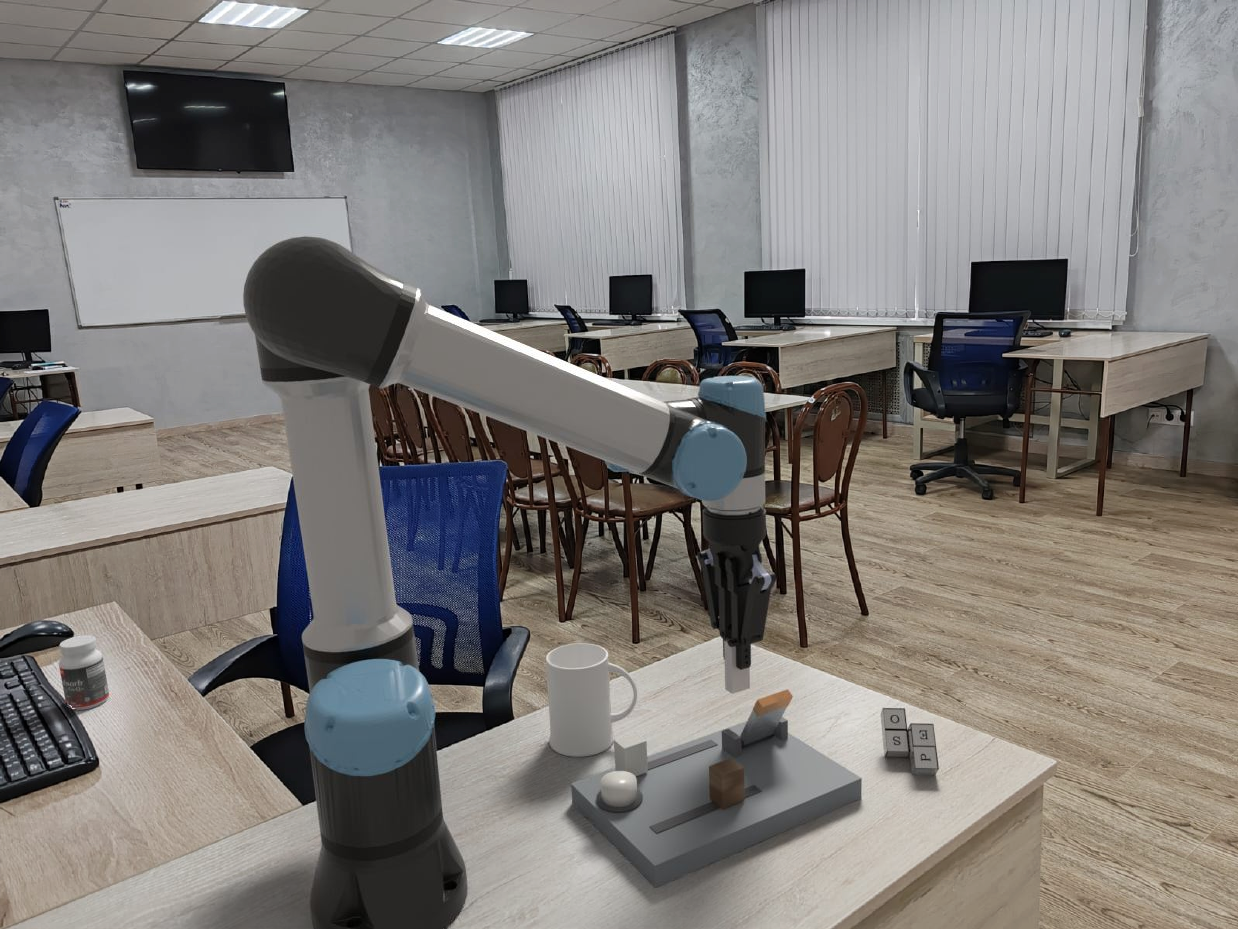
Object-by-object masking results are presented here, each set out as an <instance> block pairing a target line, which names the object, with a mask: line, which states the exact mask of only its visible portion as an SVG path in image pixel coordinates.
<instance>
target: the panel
mask: <svg viewBox="0 0 1238 929" xmlns="http://www.w3.org/2000/svg"><path fill="white" fill-rule="evenodd" d="M747 721H748V720H747ZM747 721H744V722H741V723H738V724H735V725H733V726H730V727H729V726H728V727H727V728H724V729H722V730H718V731H716V732H713V733H710V734H707V735H703V736H702V737H698V738H695V739H692V740H690V741H687V742H684V743H681V744H678V745H676V746H673V747H670V748H667V749H665V750H661V751H659V752H656V753H653V754H651V755H647V765H648V772H646V773H644V774H641V775H638V776H635V777H636V779H637V799H636V801H635V802H633V803H632V804H630V805H628V806H623V807H613V806H609V805H607V804H605V803H604V802H603V801H602V796H601V779H602V777H603V776H604V775H606V774H607V773H610V772H614V771H615V767H613V768H611V769H609V770H606V771H603V772H599V773H597V774H595V775H591V776H589V777H586V778H583V779H580V780H578V781H574V782H571V783H570V787H571V788H570V791H571V802H572V804H573V806H575V808H576V809H577V810H578V811H580V813H582V814H583V815H584V817H586V818H587V820H588V821H589V822H590V823H591V824H592V825H593V826H595V828H596V829H597V830H598V831H599V832H600V833H601V834H602V835H603V836H604V837H605V838H606V839H607V840H608V841H609V842H610V843H611V844H612V845H613V846H614V847H615V848H616V849H617V850H618V851H619V852H620V854H621V855H622V856H624V858H626V859H627V860H628V861H629V862H630V863H631V864H632V865H633V867H635V868H636V870H637V871H638V872H639V873H640V874H641V875H643V877H644V878H646V879H647V881H648V882H650V883H651V885H652V886H653V887H654V888H658V887H660V886H663V885H665V884H667V883H670V882H671V881H672V882H673V881H675V880H677V879H678V878H681V877H683V876H686V875H688V874H690V873H692V872H695V871H697V870H699V869H702V868H704V867H706V866H708V865H711V864H713V863H715V862H718V861H720V860H722V859H725V858H727V857H729V856H732V855H734V854H736V853H739V852H740V851H741V852H742V851H743V850H745V849H748V848H749V847H752V846H754V845H757V844H759V843H761V842H763V841H766V840H768V839H770V838H773V837H775V836H778V835H780V834H783V833H784V832H787V831H788V830H790V829H791V830H792V829H793V828H796V827H798V826H801V825H803V824H805V823H808V822H809V821H811V820H814V819H816V818H819V817H822V816H823V815H825V814H828V813H830V812H832V811H834V810H837V809H839V808H841V807H843V806H845V805H848V804H850V803H852V802H855V801H858V800H859V799H861V798H862V785H863V784H862V783H863V782H862V779H863V778H862V776H859V775H857V774H855V772H852V771H851V770H849V769H848V768H846V767H844V766H843V765H841V764H840V763H838V762H836V761H835V760H833V759H832V758H830V757H829V756H826V755H825V754H823V753H822V752H820V751H818V750H817V749H816V748H814V747H812V746H810V745H809V744H808V743H805V742H804V741H803V740H801V739H800V738H797V736H794V735H793V734H791V733H790V732H789V731H788V730H789V720H788V719H786V718H785V717H783V716H782V718H781V720H780V722H779V724H778V725H777V727H776V729H775V731H774V737H772V738H769V739H766V740H764V741H761V742H758V743H755V744H753V745H750V746H747V747H745V748H741V737H740V735H741V733H742V731H743V729H744V727H745V725H746V723H747ZM730 758H731V759H733V760H734V761H736V762H737V763H738V764H740V765H741V766H743V767H744V789H745V800H744V801H742V802H739V803H737V804H734V805H732V806H729V807H727V808H725V809H722V808H721V807H719V806H718V805H717V804H716V803H714V802H713V801H712V800H710V790H709V766H711V765H714V764H716V763H719V762H722V761H724V760H727V759H730Z"/></svg>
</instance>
